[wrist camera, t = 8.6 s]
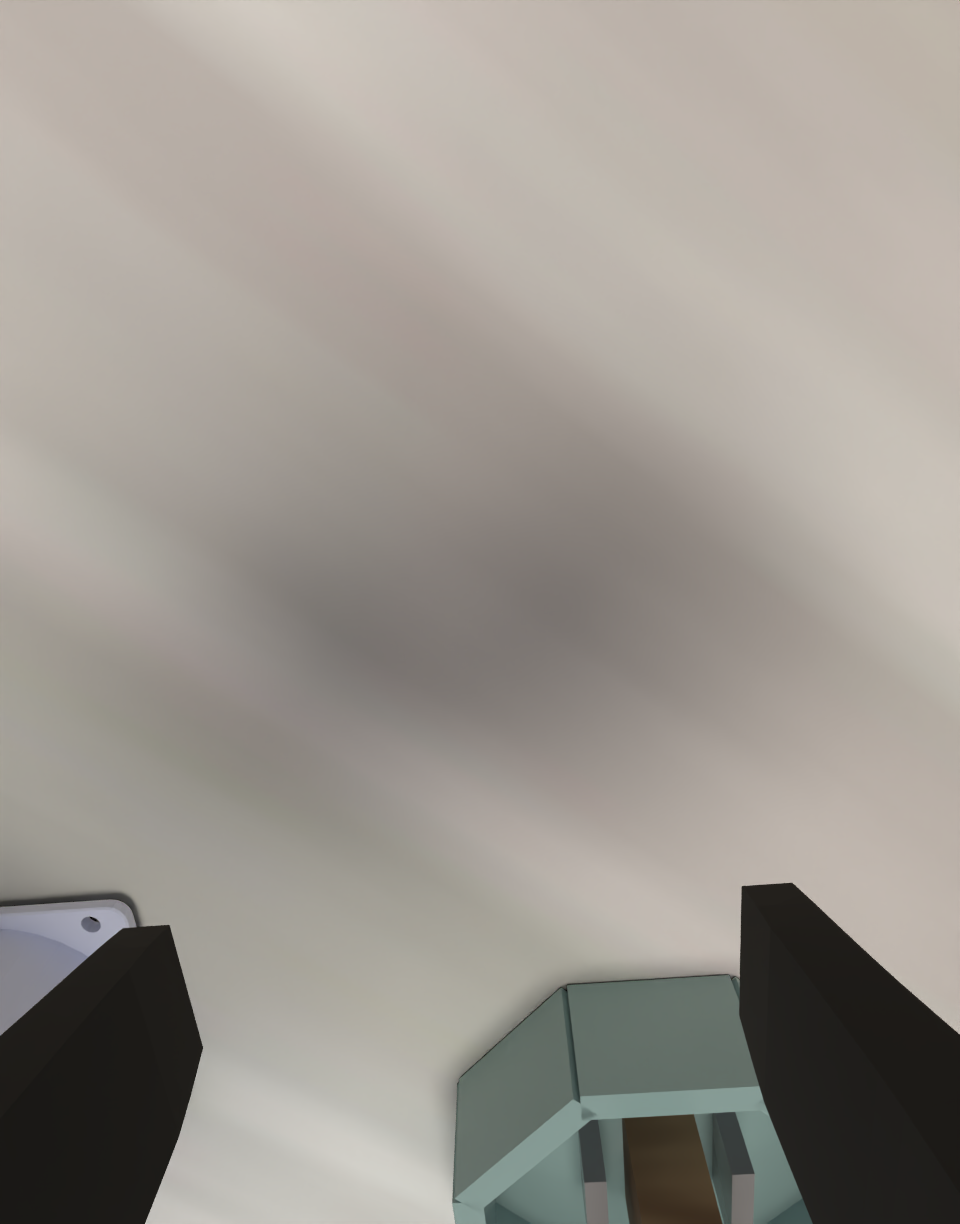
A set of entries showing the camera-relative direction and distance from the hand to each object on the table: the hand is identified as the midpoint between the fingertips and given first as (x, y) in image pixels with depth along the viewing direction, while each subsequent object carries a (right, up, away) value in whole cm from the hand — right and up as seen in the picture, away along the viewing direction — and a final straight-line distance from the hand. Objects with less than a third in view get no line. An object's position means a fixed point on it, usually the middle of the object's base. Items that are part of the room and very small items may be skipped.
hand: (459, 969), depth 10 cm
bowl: (+6, -11, +14) cm, 19 cm away
